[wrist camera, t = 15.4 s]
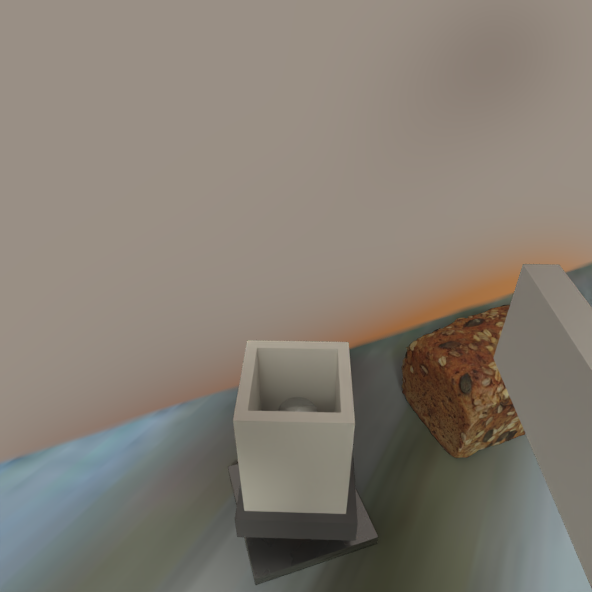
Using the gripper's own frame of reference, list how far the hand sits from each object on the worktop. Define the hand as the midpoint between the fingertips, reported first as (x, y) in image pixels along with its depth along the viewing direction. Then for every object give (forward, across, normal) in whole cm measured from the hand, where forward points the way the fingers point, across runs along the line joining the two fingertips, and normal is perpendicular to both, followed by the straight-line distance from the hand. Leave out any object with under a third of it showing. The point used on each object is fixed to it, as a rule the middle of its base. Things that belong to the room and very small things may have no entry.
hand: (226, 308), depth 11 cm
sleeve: (+14, +1, -27) cm, 30 cm away
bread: (+27, +22, -32) cm, 47 cm away
